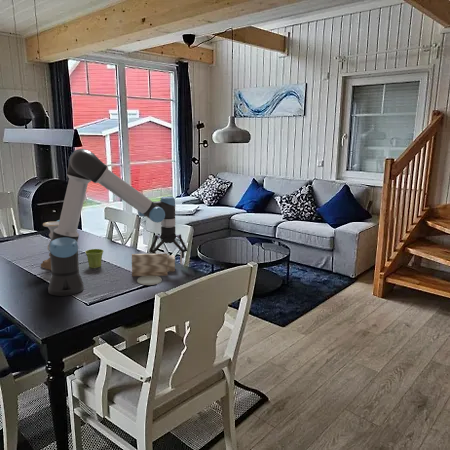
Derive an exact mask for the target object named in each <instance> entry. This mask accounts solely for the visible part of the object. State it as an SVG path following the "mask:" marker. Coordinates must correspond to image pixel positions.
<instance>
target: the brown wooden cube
mask: <svg viewBox="0 0 450 450" xmlns="http://www.w3.org/2000/svg"><path fill="white" fill-rule="evenodd" d="M175 257H176V256H175V255H174V254H171V255H170V254H168V266H167V272H176V270H175V269H176V268H175V266H176V265H175V264H176V258H175Z"/></svg>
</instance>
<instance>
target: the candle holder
mask: <svg viewBox="0 0 450 450" xmlns="http://www.w3.org/2000/svg"><path fill="white" fill-rule="evenodd" d="M58 225H59V221H58V220H56V221H54V220H53V221H47V222H46V221H45V222H43V223H42V226H43V227H46V228H48V229H49V234H48V236H49V238H50V240H51V239H52V236H53V231H54V229H56V228H58ZM49 244H50V242H49V243H48V245H47V248H46V249H47V251H48V252H49V253H48V255H49V257H48V258H47V259H44V260H42V263H40V267H41V268H42V269H45V270H48V271H51V258H50V249H49Z"/></svg>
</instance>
